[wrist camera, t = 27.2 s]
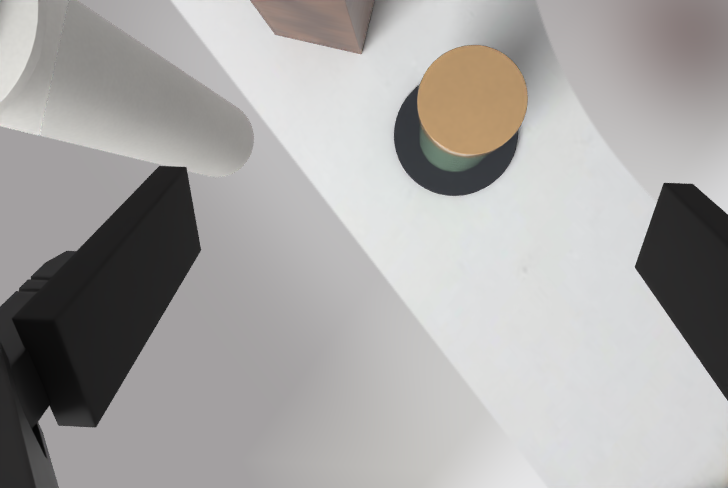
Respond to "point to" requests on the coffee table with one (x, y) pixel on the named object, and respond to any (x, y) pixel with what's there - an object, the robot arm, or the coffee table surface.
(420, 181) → the coaster
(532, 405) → the coffee table surface
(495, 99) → the ceramic jar
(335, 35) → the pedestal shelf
